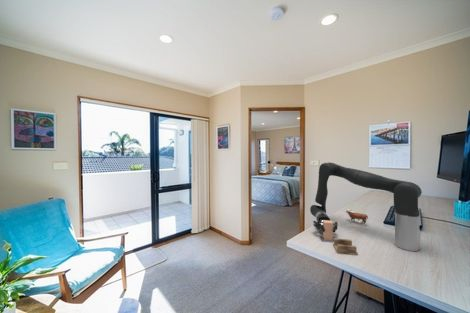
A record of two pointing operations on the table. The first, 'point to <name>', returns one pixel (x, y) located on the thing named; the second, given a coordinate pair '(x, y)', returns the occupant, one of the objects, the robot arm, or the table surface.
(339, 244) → the slotted rack
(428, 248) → the table surface
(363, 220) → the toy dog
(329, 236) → the tall salmon pink block
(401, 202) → the robot arm
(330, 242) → the rubber mat
